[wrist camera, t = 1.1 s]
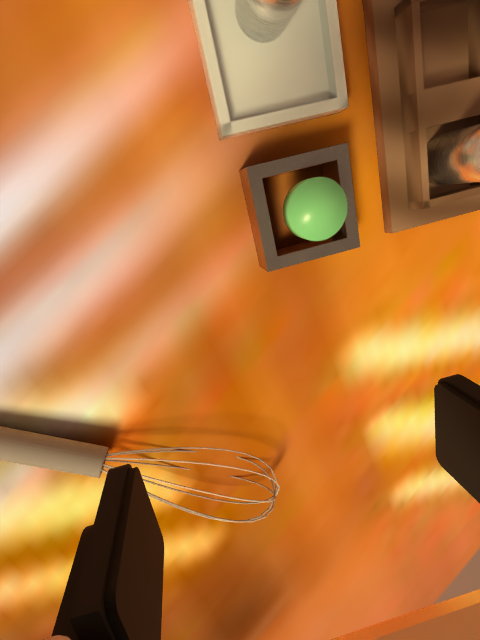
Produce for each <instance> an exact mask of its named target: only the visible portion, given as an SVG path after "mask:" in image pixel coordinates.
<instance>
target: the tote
mask: <svg viewBox="0 0 480 640" xmlns="http://www.w3.org/2000/svg"><path fill="white" fill-rule="evenodd" d="M188 3H189V7H190V12H191V16H192V20H193V25H194V29H195V34H196V38H197V42H198V47H199V51H200V56H201V60H202V64H203V69H204V73H205V78H206V82H207V86H208V91H209V95H210V100H211V104H212V108H213V113H214V117H215V121H216V126H217V130H218V135H219V139H220V140H224V139H228V138H232V137H237V136H241V135H245V134H249V133H254V132H258V131H262V130H266V129H271V128H275V127H279V126H284V125H288V124H292V123H296V122H301V121H305V120H309V119H313V118H318V117H322V116H326V115H331V114H335V113H339V112H341V111H342V110H344V109H346V108H348V107H349V106H348V97H347V88H346V79H345V71H344V62H343V53H342V45H341V36H340V27H339V18H338V10H337V1H336V0H303V1H302V3H301V4H300V6H299V7H298V9H297V11H296V12H295V14H294V15H293V17H292V19H291V20H290V22H289V23H288V25H287V27H286V28H285V30H284V31H283V33H282V34H281V35H280V36H279V37H278V38H277V39H275V40H274V41H271V42H268V43H259V42H256V41H253V40H252V39H250V38H249V37H247V36H246V35H245V34H244V32H243V31H242V30H241V28H240V26H239V24H238V22H237V19H236V15H235V0H188Z"/></svg>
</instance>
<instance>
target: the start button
mask: <svg viewBox="0 0 480 640" xmlns="http://www.w3.org/2000/svg"><path fill="white" fill-rule="evenodd" d="M347 208H348V205H347V198H346V195H345V193H344V191H343V189H342V188H341V186H340V185H339V184H338V183H337V182H335V181H334V180H332V179H330V178H326V177H314V178H309V179H305V180H302V181H300V182H298V183H297V184H295V185H294V186H293V187H292V188H291V189H290V191H289V192H288V194H287V196H286V198H285V201H284V205H283V216H284V221H285V223H286V225H287V227H288V228H289V230H290V231H291V232H292V233H293V234H294V235H296V236H298V237H300V238H303V239H307V240H311V241H321V240H325V239H328V238H330V237H331V236H333V235H334V234H335V233H337V232H338V230H339V229H340V228H341V227H342V225H343V223H344V221H345V219H346V215H347Z"/></svg>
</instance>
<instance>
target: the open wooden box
mask: <svg viewBox="0 0 480 640" xmlns="http://www.w3.org/2000/svg"><path fill="white" fill-rule="evenodd" d="M320 164H322V168H323V175H324V177H326V178H330V179H332V180H334V181H335V182H337V183H338V184H339V185H340V186H341V188H342V189H343V191H344V193H345V195H346V198H347V205H348V208H347V215H346V219H345V221H344V223H343V225H342V227H341V228H340V229H339V230H338V232H337V233H335V234H334V235H333V236H331V237H330V238H328V239H325V240H321V241H308V242H304V243H301V244H297V245H293V246H289V247H286V248H282V249H278V250H276V247H275V241H274V236H273V231H272V226H271V221H270V216H269V211H268V206H267V201H266V196H265V191H264V186H263V181H262V179H263V178H267V177H271V176H275V175H279V174H284V173H288V172H292V171H296V170H300V169H304V168H308V167H312V166H316V165H320ZM239 172H240V177H241V181H242V186H243V191H244V195H245V200H246V204H247V209H248V214H249V218H250V223H251V228H252V232H253V237H254V241H255V246H256V251H257V255H258V260H259V265H260V266H261V267H262V268H263V269H265V270H266V271H268V272H269V271H273V270H277V269H280V268H284V267H288V266H291V265H295V264H299V263H303V262H306V261H310V260H314V259H317V258H321V257H325V256H328V255H332V254H336V253H339V252H343V251H347V250H350V249H354V248H358V247H360V241H359V233H358V225H357V216H356V208H355V199H354V191H353V183H352V174H351V166H350V157H349V149H348V143H344V144H340V145H336V146H331V147H327V148H323V149H319V150H315V151H311V152H307V153H303V154H298V155H294V156H290V157H286V158H282V159H278V160H274V161H270V162H265V163H261V164H257V165H253V166H249V167H246V168H244V169H242V170H240V171H239Z"/></svg>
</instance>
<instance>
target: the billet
mask: <svg viewBox="0 0 480 640" xmlns="http://www.w3.org/2000/svg"><path fill="white" fill-rule="evenodd" d="M302 1H303V0H235V15H236V19H237V22H238V24H239V26H240V28H241V30H242V31H243V32H244V34H245V35H246V36H247V37H249V38H250V39H252V40H253V41H256V42H259V43H268V42H271V41H274V40H275V39H277V38H278V37H279V36H280V35H281V34H282V33H283V31H284V30H285V28H286V27H287V25H288V23H289V22H290V20H291V19H292V17H293V15H294V14H295V12H296V11H297V9H298V7H299V6H300V4H301V3H302Z"/></svg>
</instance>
